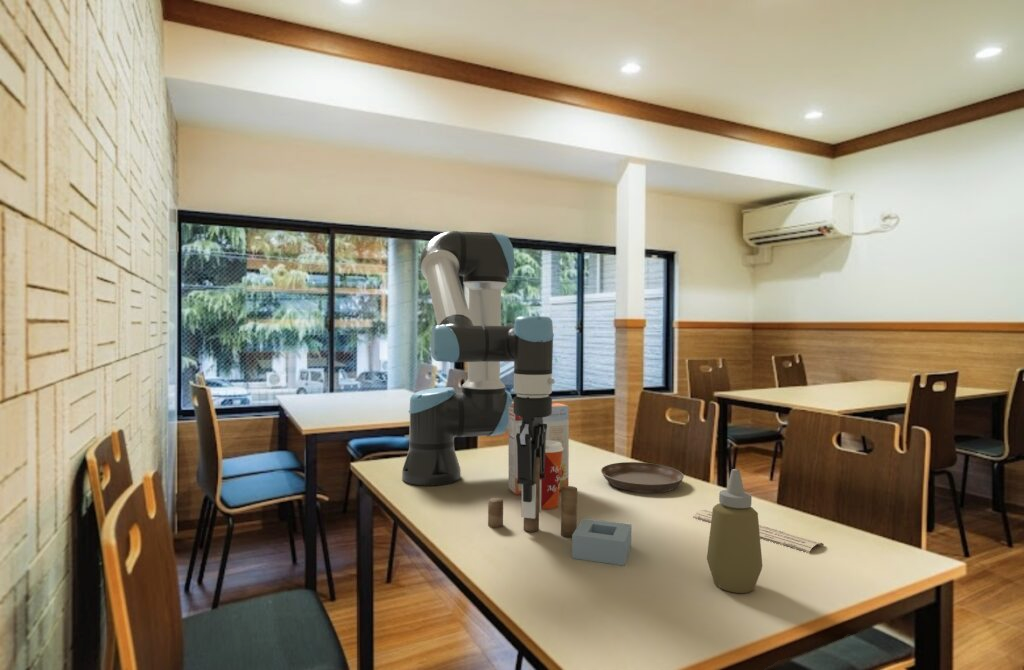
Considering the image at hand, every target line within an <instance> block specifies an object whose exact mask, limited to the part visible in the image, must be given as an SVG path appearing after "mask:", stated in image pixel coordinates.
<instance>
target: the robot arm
mask: <svg viewBox="0 0 1024 670" xmlns="http://www.w3.org/2000/svg"><path fill="white" fill-rule="evenodd" d="M514 252H515V251H514V247H513V244H512V242H511V240H510V238H509V237H508V236H507V235H505V234H503V233H502V234H501V233H494V232H484V231H483V232H480V231H478V232H477V231H461V230H460V231H458V230H450V231H444V232H442V233H439V234H438V235H435V236H433V237H432V238H431V239H430V241H428V242H427V244H426V245H425V247H424V248H423V249H422V251H421V254H420V259H419V265H420V271H421V275H422V277H423V278H424V279H425V280H426V281H427V285H428V290H429V295H430V298H431V303H432V308H433V314H434V317H435V321H436V325H434V326H432V328H431V330H430V342H429V343H430V344H429V345H430V354H431V357H432V359H433V360H434V361H435V362H445V363H448V362H449V363H452V364H453V363H467V380H465V381H464V383H463V384H462V385H461V386H462V387H461V392H456V390H455V388H454V387H451V386H450V387H449V386H446V387H442V386H441V387H434V388H428V389H422V390H418V391H416V392H414V393H413V394H412V395H411V396H410V399H409V410H408V414H409V435H408V436H409V437H408V438H409V439H408V440H409V443H408V444H409V445H408V447H409V448H408V451H407V455H406V457H405V461H404V464H403V466H402V467H403V468H402V473H401V480H402V481H403V482H405V483H407V484H411V485H415V486H416V485H417V486H442V485H443V486H444V485H448V484H452V483H454V482H457V481H459V480H460V479H461V466H460V464H459V459H458V457H457V453H456V450H455V438H465V437H467V438H468V437H492V436H498V435H499V436H500V435H503V434H505V433H506V432H507V430H508V424H509V416H508V414H509V405H514V410H513V412H514V414H515V415H517V416H521V417H522V419H523V420H522V425H521V426H520V433H517V434H516V440H517V458H518V481H517V484H522V494H521V502H520V503H521V506H520V507H521V508H520V509H521V514H520V515H521V518H524V517H525V518H533V519H535V518H536V484H534V483H535V464H536V457H539V458H540V478H544V479H545V477H546V474H542V473H544V471H545V446H546V431H547V424H543V417H547V416H550V415H551V414H552V404H553V398H552V397H551V396H550V395H551V394H552V393H553V384H555V382H556V380H555V379H554V378H552V377H553V355H554V353H553V352H554V349H553V348H554V338H555V337H554V327H553V320H552V318H550V316H533V315H532V316H529V315H527V316H526V315H524V316H522V315H521V316H517V317H516V318H515V321H514V325H501V323H502V321H501V320H502V319H501V317H502V315H501V313H502V311H501V310H502V290H503V288H504V287H506V286H507V285H508V279H510V278H512V277H513V275H514V273H515V253H514ZM460 277H463V279H462V280H463V283H461V279H460ZM462 284H463V285H464V286H465V287H466V288H467V289H468V303H467V300H466V296H465V293H464V290H463V287H462ZM501 362H502V363H503V362H513V365H514V366H513V393H514V394H515V395H514V396H513V397H512V394H511V393H510V392H509V391H507V390H506V385H505V383H503V381H502V380H501ZM540 478H539V514H541V512H542V509H541V479H540Z"/></svg>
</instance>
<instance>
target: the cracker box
mask: <svg viewBox="0 0 1024 670" xmlns="http://www.w3.org/2000/svg"><path fill="white" fill-rule="evenodd" d="M569 409H570V406H569V405H567V404H564V403H561V402H555V403H553V402H552V414H551V415H550V416H547V417H543V424H547V431H546V440H552V441H558V442H561V444H562V447H563V449H564V450H563V451H562V459H561V474H560V489H559V492H560V491H561V488H562V487H564V486H569V477H570V476H569V475H570V473H569V471H570V470H569V459H570V455H569V454H570V453H569V452H570V451H569V447H570V445H569V441H570V440H569V439H570V437H569V435H570V434H569V431H570V430H569V429H570V427H569V425H570V424H569V419H570V418H569V413H570V412H569V411H570V410H569ZM513 410H514V404H512V405H509V414H508V416H509V424H508V428H507V430H508V490H510V491H511V492H512V493H513V494H514V495H517V496H518V495H519V496H520V495H522V484H517V481H518V458H517V440H516V434H517V433H520V426H521V425H522V420H523V419H522V417H521V416H517V415H515V414H514V412H513Z"/></svg>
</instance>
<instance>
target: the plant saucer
mask: <svg viewBox="0 0 1024 670" xmlns="http://www.w3.org/2000/svg"><path fill="white" fill-rule="evenodd" d="M600 471H601V474H602V476H603V478H604V479H605V480H606V482H608V483H609V484H610V485H611V486H613V487H615V488H617V489H620V490H623V491H627V492H628V491H629V492H634V493H641V492H643V493H645V494H657V492H660V493H665V491H666V492H670V491H672V490H674V489H675V488H677V487H678V486H679V485H680V483H681V482H682V481H683V480H684V478H685V477H684V476H685V475H684V474H683V472H681V471H680V470H678V469H675V468H673V467H669V466H666V465H662V464H656V463H652V462H651V463H648V462H638V461H629V462H628V461H624V462H615V463H614V462H613V463H610V464H607V465H605V466H603V467H602V468H601V469H600ZM669 490H670V491H669Z"/></svg>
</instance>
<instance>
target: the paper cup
mask: <svg viewBox="0 0 1024 670" xmlns="http://www.w3.org/2000/svg"><path fill="white" fill-rule="evenodd" d="M563 450H564V449H563V447H562V444H561V442H558V441H552V440H546V446H545V471H544V473H542V474H546V477H545V479H544V478H540V479H541V510H553V509H556V508H558V506H559V500H560V498H559V497H560V491H559V489H560V474H561V459H562V451H563Z"/></svg>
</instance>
